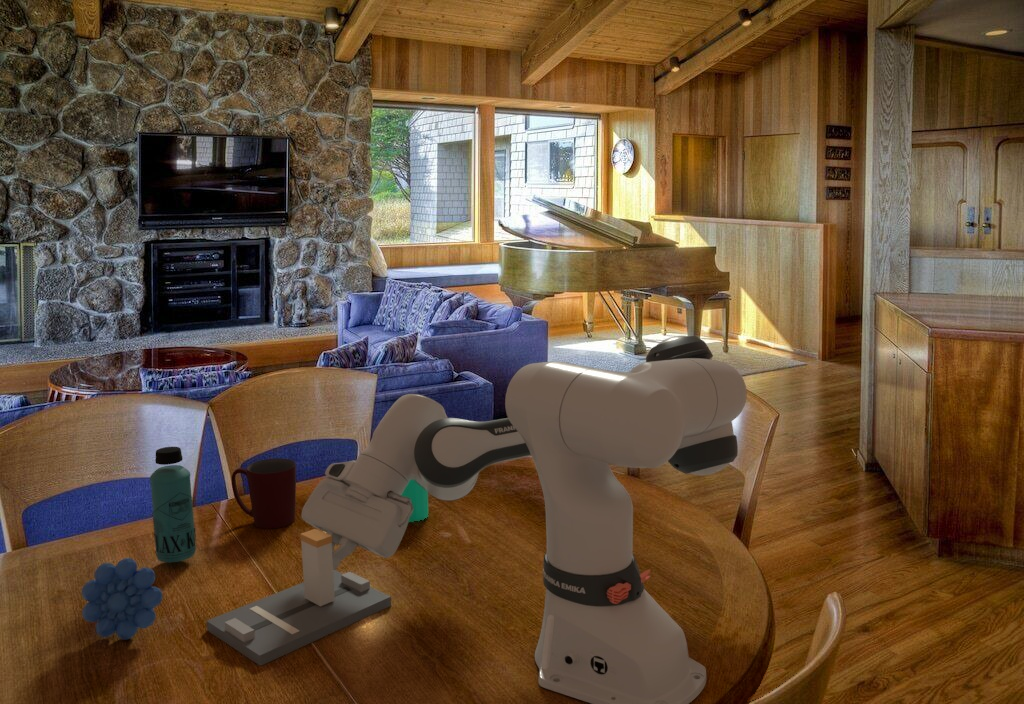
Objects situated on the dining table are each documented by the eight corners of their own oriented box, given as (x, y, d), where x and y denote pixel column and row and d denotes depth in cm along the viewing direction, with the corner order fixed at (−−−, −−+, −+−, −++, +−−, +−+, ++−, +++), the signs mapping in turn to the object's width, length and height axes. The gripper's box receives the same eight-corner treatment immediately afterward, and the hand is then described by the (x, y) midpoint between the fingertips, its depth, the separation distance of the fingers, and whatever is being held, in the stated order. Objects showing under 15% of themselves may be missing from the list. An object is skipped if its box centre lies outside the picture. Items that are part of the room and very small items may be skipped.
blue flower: (180, 624, 123) (173, 546, 120) (157, 649, 116) (149, 566, 114) (102, 622, 124) (94, 544, 121) (75, 646, 117) (66, 565, 115)
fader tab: (335, 600, 126) (331, 535, 124) (320, 606, 124) (316, 541, 122) (318, 591, 129) (315, 528, 127) (304, 598, 127) (300, 533, 125)
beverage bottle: (147, 566, 142) (136, 451, 138) (180, 552, 148) (170, 441, 144) (175, 574, 139) (164, 456, 135) (206, 559, 145) (197, 445, 141)
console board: (391, 605, 127) (390, 589, 127) (260, 666, 112) (259, 647, 111) (335, 578, 137) (334, 562, 136) (207, 630, 121) (205, 612, 120)
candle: (423, 523, 159) (421, 461, 157) (393, 521, 161) (390, 460, 158) (432, 511, 165) (430, 451, 163) (403, 509, 166) (400, 450, 164)
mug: (226, 530, 157) (222, 473, 155) (243, 512, 166) (239, 458, 164) (291, 530, 157) (287, 473, 155) (304, 513, 165) (301, 458, 163)
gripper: (429, 510, 127) (381, 595, 122) (347, 481, 141) (301, 555, 136) (405, 490, 123) (354, 577, 118) (323, 462, 137) (274, 538, 132)
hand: (325, 565), depth 127 cm, fingers closed
